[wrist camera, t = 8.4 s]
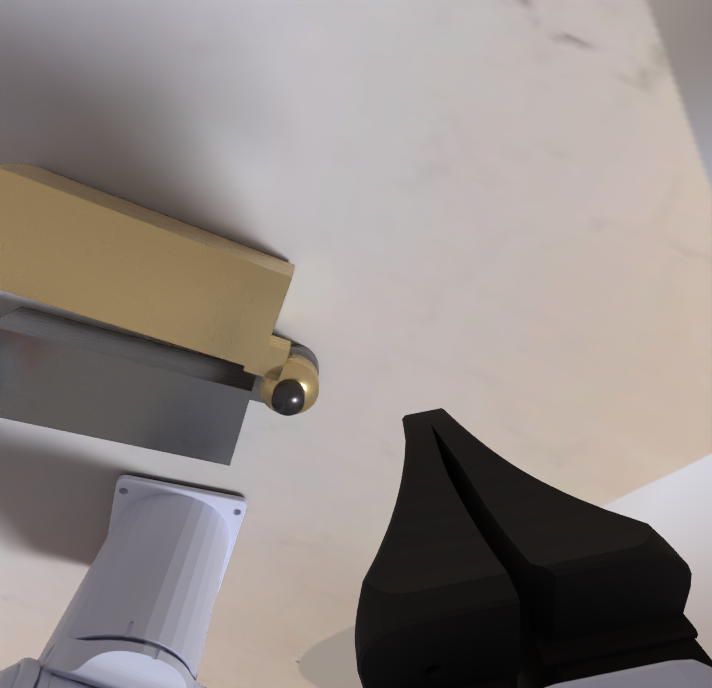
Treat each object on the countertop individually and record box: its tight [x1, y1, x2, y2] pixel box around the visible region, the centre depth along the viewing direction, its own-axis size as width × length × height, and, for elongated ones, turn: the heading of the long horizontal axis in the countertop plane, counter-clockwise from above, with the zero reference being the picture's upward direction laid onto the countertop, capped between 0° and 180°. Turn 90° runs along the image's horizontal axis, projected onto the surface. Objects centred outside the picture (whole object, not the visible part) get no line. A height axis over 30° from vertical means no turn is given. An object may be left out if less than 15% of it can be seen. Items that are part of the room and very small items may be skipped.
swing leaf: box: [0, 164, 319, 414], centre depth 19 cm, size 7×15×2 cm, turn 67°
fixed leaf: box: [0, 307, 319, 466], centre depth 20 cm, size 7×15×4 cm, turn 70°
